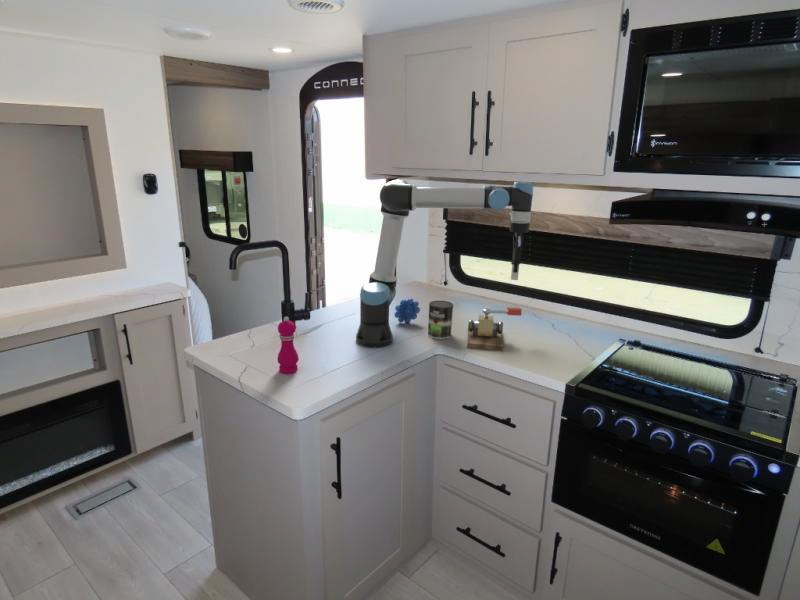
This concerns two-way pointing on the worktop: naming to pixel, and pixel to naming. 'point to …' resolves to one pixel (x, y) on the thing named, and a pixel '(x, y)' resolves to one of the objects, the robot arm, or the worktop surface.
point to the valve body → (485, 326)
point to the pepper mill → (287, 347)
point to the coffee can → (440, 319)
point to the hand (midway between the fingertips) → (514, 279)
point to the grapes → (407, 310)
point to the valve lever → (504, 311)
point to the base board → (484, 342)
